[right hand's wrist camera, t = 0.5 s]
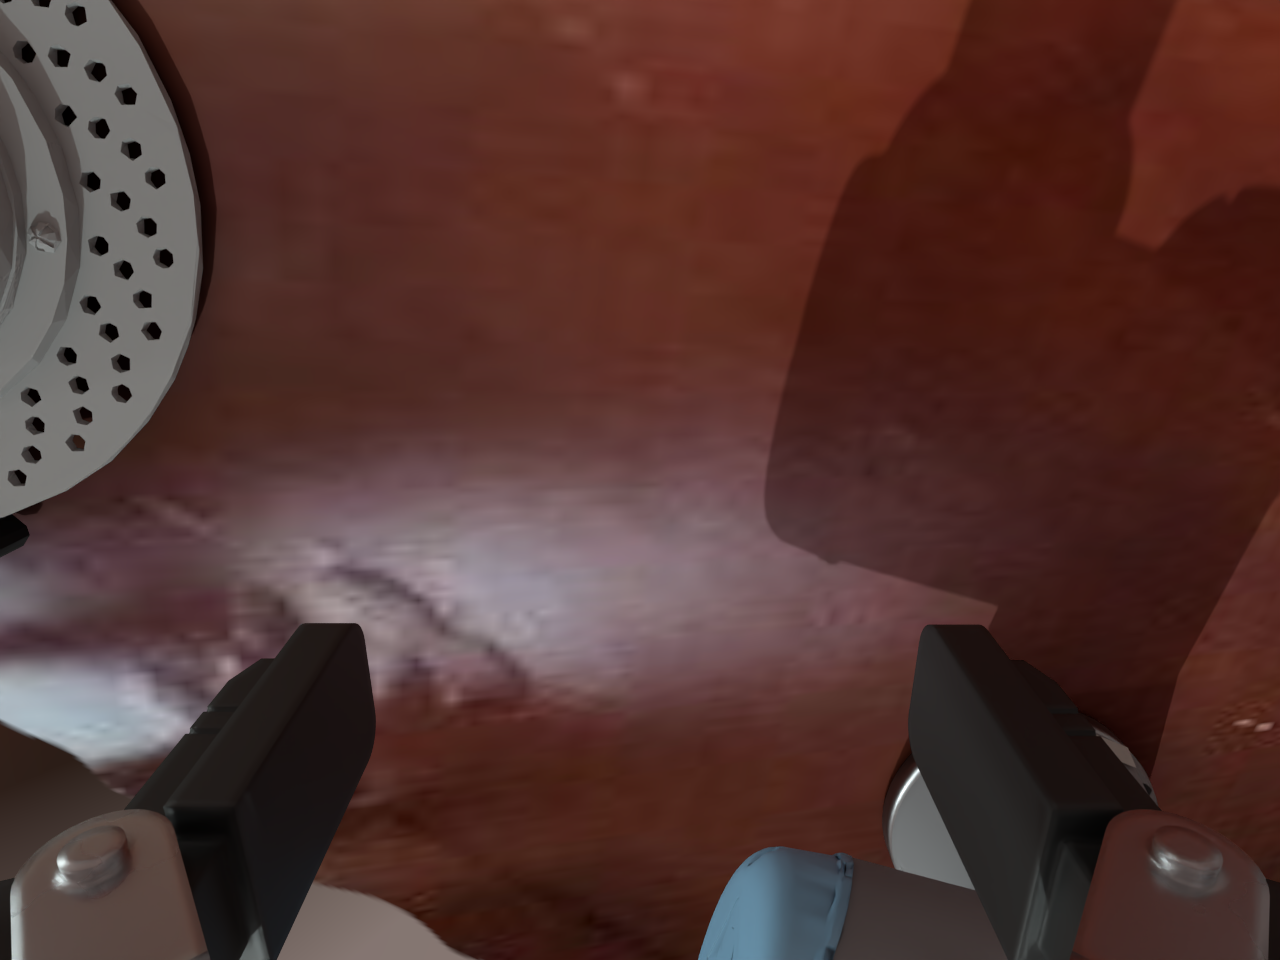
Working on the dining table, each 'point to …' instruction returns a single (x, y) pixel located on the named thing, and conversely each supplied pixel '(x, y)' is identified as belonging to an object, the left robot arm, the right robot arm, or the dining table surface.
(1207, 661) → the dining table surface
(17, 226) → the brake disc
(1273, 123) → the dining table surface
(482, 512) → the dining table surface
